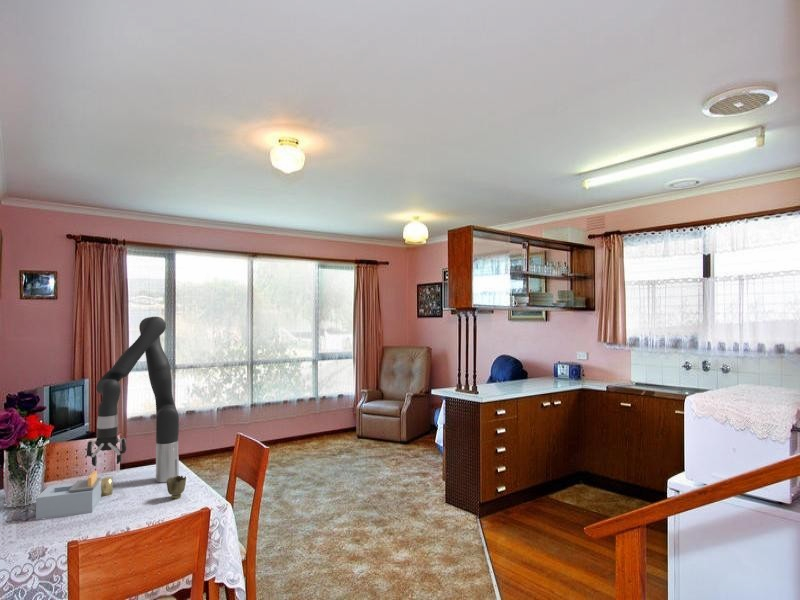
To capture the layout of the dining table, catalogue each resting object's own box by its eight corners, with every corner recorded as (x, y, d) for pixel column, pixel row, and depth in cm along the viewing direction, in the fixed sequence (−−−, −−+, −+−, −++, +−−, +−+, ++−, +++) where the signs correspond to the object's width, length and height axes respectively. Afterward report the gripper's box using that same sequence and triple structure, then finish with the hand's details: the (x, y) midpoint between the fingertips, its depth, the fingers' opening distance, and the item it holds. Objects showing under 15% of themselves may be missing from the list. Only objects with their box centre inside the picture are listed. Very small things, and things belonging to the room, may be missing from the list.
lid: (100, 479, 197) (100, 469, 197) (93, 489, 186) (93, 478, 186) (77, 482, 194) (77, 471, 194) (68, 492, 183) (68, 481, 183)
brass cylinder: (113, 492, 206) (113, 476, 206) (111, 495, 202) (111, 479, 203) (102, 493, 205) (102, 478, 205) (100, 496, 201) (100, 480, 201)
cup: (162, 499, 197) (162, 479, 197) (178, 493, 203) (178, 474, 204) (174, 502, 193) (174, 482, 194) (190, 496, 200) (190, 476, 200)
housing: (100, 499, 198) (101, 479, 198) (92, 512, 185) (92, 491, 185) (48, 506, 191) (48, 485, 192) (35, 519, 178) (36, 498, 179)
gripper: (128, 423, 211) (127, 460, 210) (90, 425, 206) (89, 463, 205) (124, 426, 204) (123, 465, 203) (85, 429, 199) (84, 468, 198)
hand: (106, 464), depth 204 cm, fingers open, 8 cm apart
